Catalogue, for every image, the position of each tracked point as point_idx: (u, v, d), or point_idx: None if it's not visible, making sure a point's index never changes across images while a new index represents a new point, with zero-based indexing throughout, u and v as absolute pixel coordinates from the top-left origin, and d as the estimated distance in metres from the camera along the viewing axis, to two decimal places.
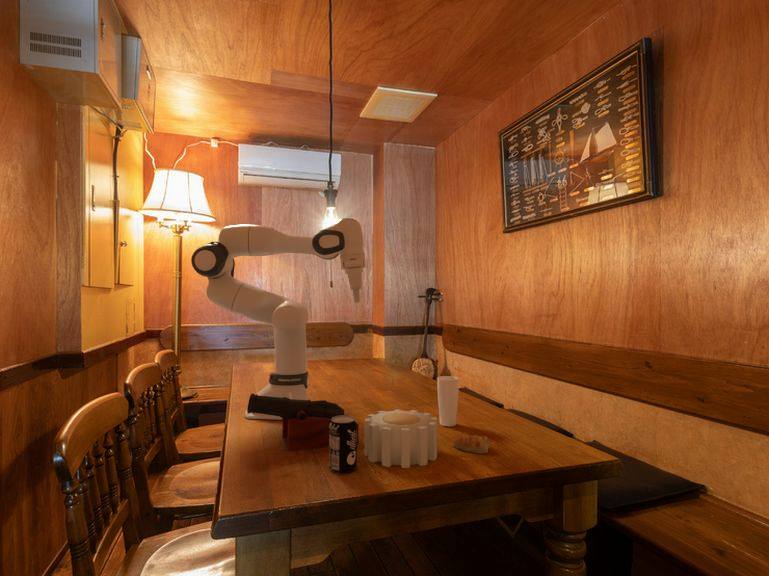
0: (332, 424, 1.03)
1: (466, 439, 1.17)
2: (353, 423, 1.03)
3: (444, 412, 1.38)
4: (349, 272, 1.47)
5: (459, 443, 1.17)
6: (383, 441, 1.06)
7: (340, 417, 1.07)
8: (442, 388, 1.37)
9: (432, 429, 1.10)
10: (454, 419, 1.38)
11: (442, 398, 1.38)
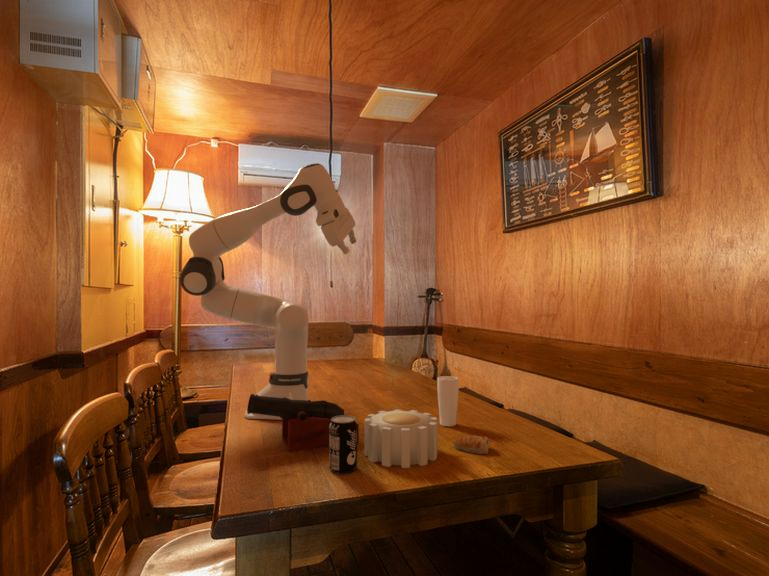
0: (332, 424, 1.03)
1: (466, 440, 1.17)
2: (353, 423, 1.03)
3: (444, 412, 1.38)
4: (323, 231, 1.36)
5: (459, 444, 1.17)
6: (383, 441, 1.06)
7: (340, 417, 1.06)
8: (442, 388, 1.37)
9: (432, 429, 1.10)
10: (454, 419, 1.38)
11: (442, 398, 1.38)
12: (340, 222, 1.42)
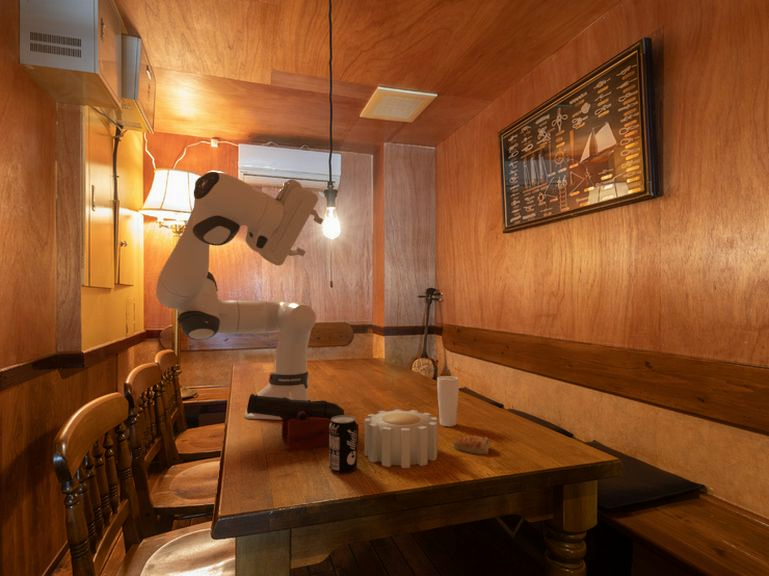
0: (332, 424, 1.03)
1: (466, 440, 1.17)
2: (353, 423, 1.03)
3: (444, 412, 1.38)
4: None
5: (459, 444, 1.17)
6: (383, 441, 1.06)
7: (340, 417, 1.07)
8: (442, 388, 1.37)
9: (432, 429, 1.10)
10: (454, 419, 1.38)
11: (442, 398, 1.38)
12: (281, 229, 1.05)
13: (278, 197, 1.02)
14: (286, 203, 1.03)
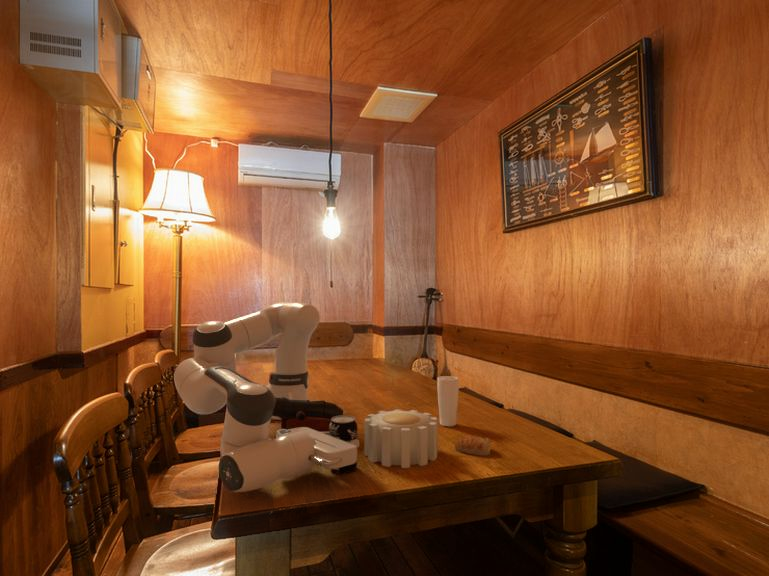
0: (332, 424, 1.03)
1: (468, 441, 1.16)
2: (353, 423, 1.03)
3: (444, 412, 1.38)
4: None
5: (461, 445, 1.16)
6: (383, 441, 1.06)
7: (340, 417, 1.07)
8: (442, 388, 1.37)
9: (432, 429, 1.10)
10: (454, 419, 1.38)
11: (442, 398, 1.38)
12: None
13: (311, 460, 0.92)
14: None
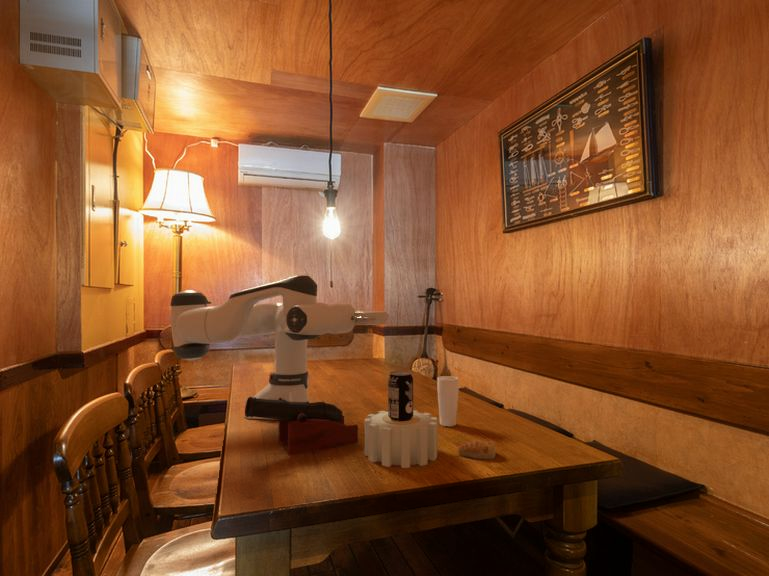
0: (391, 377, 1.13)
1: (472, 445, 1.13)
2: (410, 376, 1.13)
3: (444, 412, 1.38)
4: None
5: (465, 450, 1.12)
6: (383, 441, 1.06)
7: (397, 372, 1.17)
8: (442, 388, 1.37)
9: (432, 429, 1.10)
10: (454, 419, 1.38)
11: (442, 398, 1.38)
12: None
13: (353, 319, 1.22)
14: None
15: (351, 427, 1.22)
